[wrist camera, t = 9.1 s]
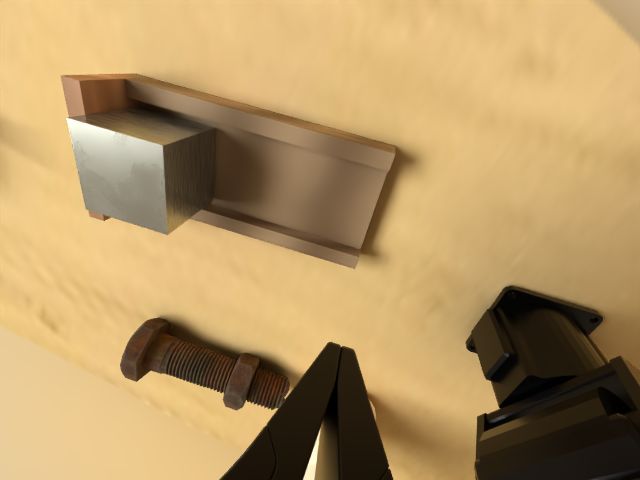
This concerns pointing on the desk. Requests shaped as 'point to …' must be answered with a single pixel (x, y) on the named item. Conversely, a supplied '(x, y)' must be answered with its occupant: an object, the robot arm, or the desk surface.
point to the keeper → (144, 166)
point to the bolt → (201, 367)
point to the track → (263, 165)
